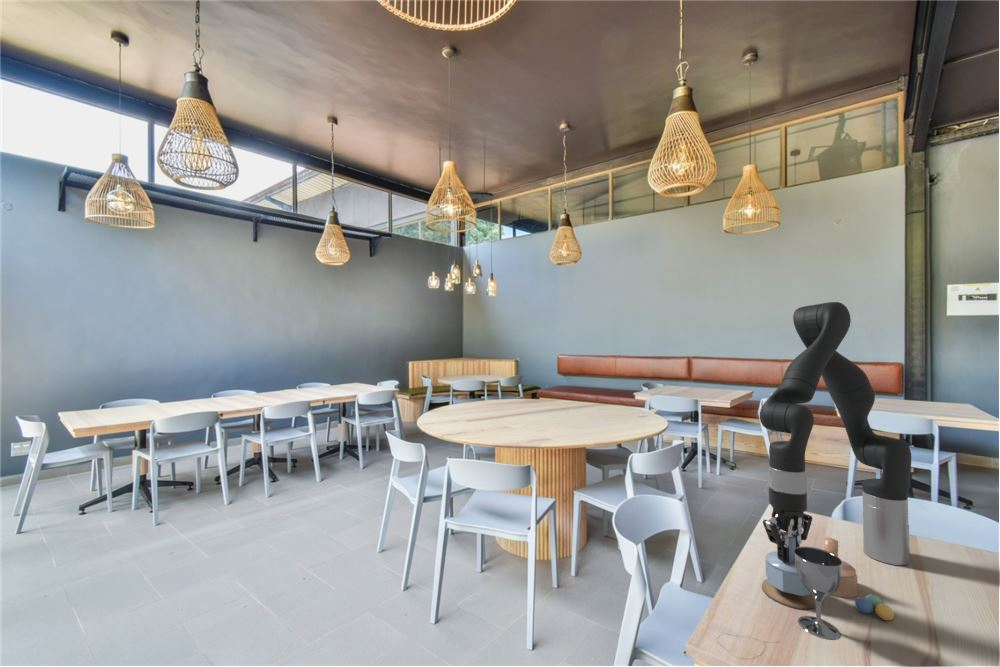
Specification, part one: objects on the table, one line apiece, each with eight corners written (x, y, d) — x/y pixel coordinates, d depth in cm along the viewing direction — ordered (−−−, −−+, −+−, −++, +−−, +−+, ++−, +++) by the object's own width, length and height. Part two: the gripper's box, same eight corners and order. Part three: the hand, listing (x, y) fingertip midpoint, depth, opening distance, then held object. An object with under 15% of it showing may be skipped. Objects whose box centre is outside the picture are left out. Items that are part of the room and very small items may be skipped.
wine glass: (852, 643, 82) (850, 568, 82) (807, 638, 84) (806, 564, 84) (829, 617, 90) (827, 548, 90) (788, 612, 92) (787, 544, 92)
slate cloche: (784, 569, 104) (783, 525, 104) (823, 590, 95) (822, 542, 95) (757, 576, 101) (756, 530, 101) (794, 598, 92) (793, 549, 92)
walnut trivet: (783, 577, 105) (783, 574, 105) (830, 603, 95) (830, 600, 95) (751, 585, 101) (751, 583, 101) (795, 614, 91) (795, 611, 91)
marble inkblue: (860, 606, 93) (860, 593, 93) (876, 614, 90) (876, 601, 91) (852, 609, 92) (851, 596, 92) (867, 618, 90) (867, 604, 90)
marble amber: (880, 612, 91) (880, 599, 91) (897, 621, 88) (897, 607, 88) (871, 615, 90) (871, 602, 90) (888, 624, 87) (888, 610, 87)
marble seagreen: (870, 603, 94) (870, 590, 94) (886, 611, 92) (886, 598, 92) (861, 606, 93) (861, 592, 93) (877, 614, 91) (877, 600, 91)
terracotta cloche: (824, 571, 107) (823, 529, 107) (865, 592, 98) (864, 545, 98) (799, 579, 104) (798, 534, 104) (839, 600, 95) (838, 552, 95)
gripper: (792, 478, 104) (794, 547, 104) (751, 485, 100) (752, 557, 99) (824, 488, 97) (825, 562, 97) (781, 496, 92) (782, 573, 92)
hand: (788, 559), depth 98 cm, fingers closed on slate cloche, 3 cm apart
